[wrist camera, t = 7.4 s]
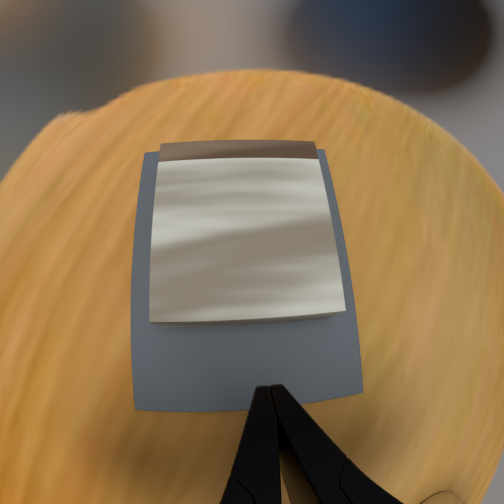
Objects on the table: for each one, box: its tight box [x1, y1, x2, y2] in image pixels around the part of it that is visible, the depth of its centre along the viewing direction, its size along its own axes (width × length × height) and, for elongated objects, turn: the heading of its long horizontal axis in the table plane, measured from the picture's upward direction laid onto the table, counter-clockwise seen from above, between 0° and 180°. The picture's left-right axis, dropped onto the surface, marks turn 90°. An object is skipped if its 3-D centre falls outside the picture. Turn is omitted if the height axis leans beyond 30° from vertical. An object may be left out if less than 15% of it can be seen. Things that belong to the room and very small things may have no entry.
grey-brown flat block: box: [149, 140, 346, 327], centre depth 17 cm, size 3×10×11 cm
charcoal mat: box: [131, 149, 363, 412], centre depth 18 cm, size 18×14×1 cm
